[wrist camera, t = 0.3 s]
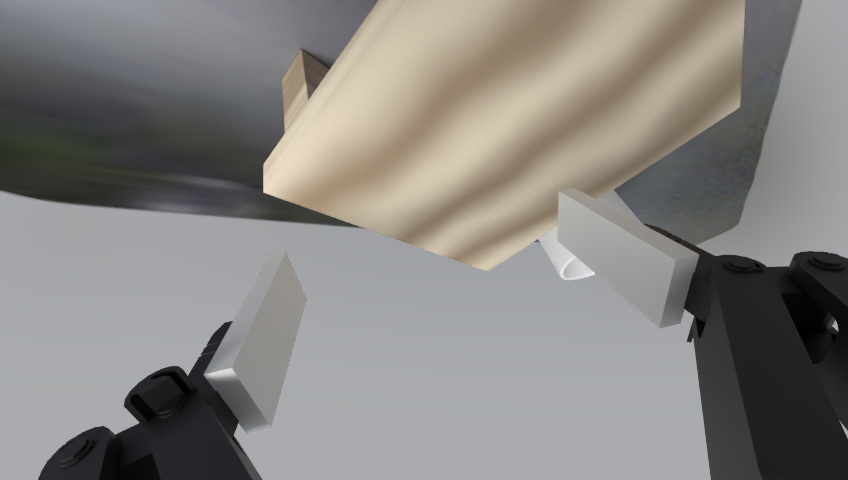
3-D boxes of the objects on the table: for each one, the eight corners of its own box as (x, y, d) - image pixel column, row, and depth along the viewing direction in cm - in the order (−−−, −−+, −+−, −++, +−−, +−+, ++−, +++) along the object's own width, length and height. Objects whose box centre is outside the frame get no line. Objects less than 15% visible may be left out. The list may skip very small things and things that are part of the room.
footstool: (263, 81, 20) (263, 192, 15) (525, -360, 11) (769, -488, 6) (452, 193, 35) (487, 271, 29) (637, 36, 25) (740, 107, 20)
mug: (595, 171, 39) (663, 251, 32) (535, 212, 42) (584, 292, 36) (561, 119, 30) (643, 214, 24) (489, 177, 34) (543, 272, 28)
